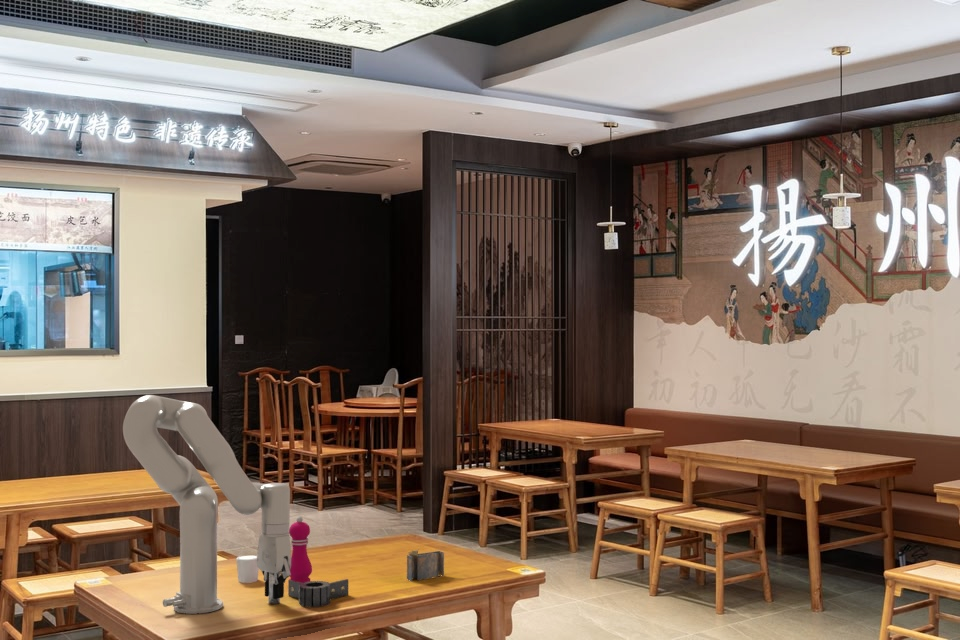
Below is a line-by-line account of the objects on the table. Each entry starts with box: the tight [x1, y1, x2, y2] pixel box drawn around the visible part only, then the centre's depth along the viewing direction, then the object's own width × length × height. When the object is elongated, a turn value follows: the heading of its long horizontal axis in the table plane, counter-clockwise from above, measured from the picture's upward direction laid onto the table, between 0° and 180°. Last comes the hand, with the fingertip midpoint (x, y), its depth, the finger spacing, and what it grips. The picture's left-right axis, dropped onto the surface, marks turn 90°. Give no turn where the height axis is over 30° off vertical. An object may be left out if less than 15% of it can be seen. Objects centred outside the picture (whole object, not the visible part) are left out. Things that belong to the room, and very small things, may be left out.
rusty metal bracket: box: [406, 548, 445, 582], centre depth 291 cm, size 11×3×10 cm, turn 123°
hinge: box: [287, 578, 349, 608], centre depth 269 cm, size 16×16×5 cm
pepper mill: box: [288, 516, 313, 583], centre depth 283 cm, size 7×7×20 cm
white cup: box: [235, 554, 260, 584], centre depth 289 cm, size 7×7×7 cm
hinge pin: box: [268, 572, 281, 605], centre depth 264 cm, size 3×3×10 cm
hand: (274, 596), depth 264 cm, fingers closed on hinge pin, 3 cm apart
